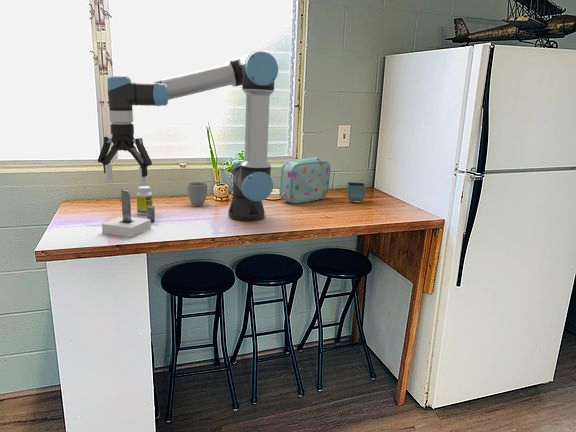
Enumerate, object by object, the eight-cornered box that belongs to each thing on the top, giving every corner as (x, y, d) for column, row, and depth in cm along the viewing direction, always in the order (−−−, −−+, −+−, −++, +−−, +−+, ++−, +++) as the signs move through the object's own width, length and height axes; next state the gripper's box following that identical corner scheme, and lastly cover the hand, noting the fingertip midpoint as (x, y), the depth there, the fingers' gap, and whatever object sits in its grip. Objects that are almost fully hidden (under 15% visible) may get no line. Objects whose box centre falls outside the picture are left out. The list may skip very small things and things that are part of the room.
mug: (210, 206, 211) (210, 185, 209) (191, 207, 207) (190, 186, 205) (201, 200, 221) (201, 180, 219) (183, 201, 217) (182, 181, 215)
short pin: (156, 221, 184) (155, 206, 183) (152, 223, 182) (151, 208, 180) (149, 220, 185) (149, 205, 184) (145, 222, 182) (144, 207, 181)
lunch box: (315, 195, 242) (318, 154, 236) (330, 199, 234) (333, 156, 229) (276, 202, 224) (278, 157, 219) (291, 206, 217) (293, 160, 211)
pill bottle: (148, 215, 192) (147, 189, 189) (134, 214, 193) (133, 187, 190) (155, 212, 197) (154, 186, 195) (141, 210, 199) (140, 185, 196)
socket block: (151, 228, 175) (150, 219, 174) (132, 237, 164) (131, 227, 163) (123, 224, 178) (122, 215, 177) (102, 233, 167) (101, 223, 166)
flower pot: (365, 204, 227) (367, 186, 225) (347, 203, 227) (348, 185, 225) (363, 200, 235) (364, 182, 233) (345, 199, 235) (346, 182, 233)
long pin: (133, 230, 172) (131, 190, 168) (128, 232, 169) (126, 191, 165) (126, 229, 172) (124, 189, 169) (121, 231, 170) (119, 190, 166)
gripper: (160, 123, 161) (163, 184, 167) (98, 121, 167) (102, 179, 173) (147, 125, 154) (151, 188, 160) (83, 122, 161) (89, 183, 166)
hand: (126, 184), depth 166 cm, fingers open, 13 cm apart
